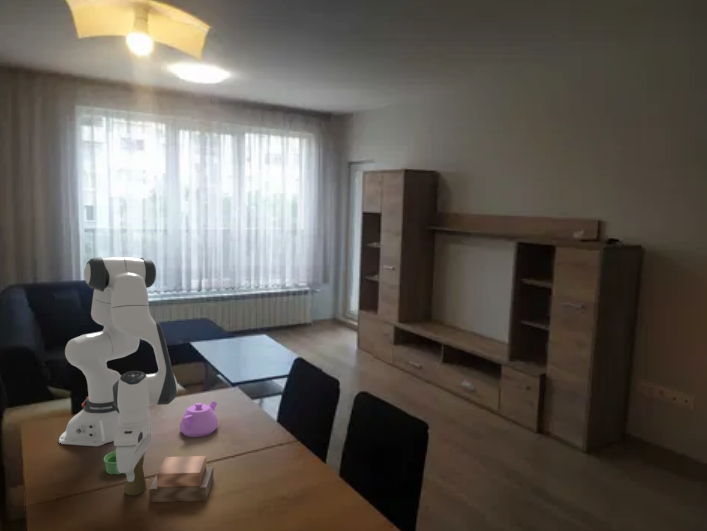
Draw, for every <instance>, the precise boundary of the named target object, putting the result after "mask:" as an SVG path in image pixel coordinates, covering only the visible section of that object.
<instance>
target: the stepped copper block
mask: <svg viewBox="0 0 707 531" xmlns="http://www.w3.org/2000/svg"><path fill="white" fill-rule="evenodd" d="M213 481H214V466H212V465H211V466H207V456H206V455H196V456H195V455H194V456H193V455H189V456H188V455H187V456H185V455H184V456H165V458H164V460H163V462H162V463H161V466H160V467H159V469H158V471H157V472H156V475H155V477H154V479H153V481H152V483H151V484H150V485H149V486H150V487H149V489H148V502H149V503H165V502H166V503H167V502H194V501H195V502H196V501H198V502H199V501H207V500H208V496H209V493H210V490H211V487H212V485H213V484H212V483H213Z"/></svg>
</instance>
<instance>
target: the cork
mask: <svg viewBox="0 0 707 531" xmlns="http://www.w3.org/2000/svg"><path fill="white" fill-rule="evenodd" d="M143 462H144V456H143V455H142V457H141V458H140V460H139V461H138V463H137V465H136V466H135V468H134V470H133V471H134V473H135V479H134V481H132V482H128V481H127V475H126V474H125V476H126V477H125V484H124V491H125V492H124V494H125V493H126V494H125V495H127V494H128V495H127V496H136V495H140V494H142V493H144V492H145V491H146V490H147V484H146V477H145V474H144V467H143V465H144V464H143ZM142 464H143V465H142Z"/></svg>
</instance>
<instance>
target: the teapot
mask: <svg viewBox="0 0 707 531" xmlns="http://www.w3.org/2000/svg"><path fill="white" fill-rule="evenodd" d="M217 404H218V403H217V402H216V401H212V400H211V402H210V404H206V403H202V402H195V403H194V404H192V405H190V406H188V407H187V409H186V410H185V412H184V413H183V415H182V417H181V420H180V421H179V422H180V423H179V430H180V432H181V433H182V434H183V435H184V436H186V437H190V438H202V437H206V436H209V435H210V434H213V433H214V431H216V429H217V428H218V425H219V423H218V418H217V415H216V413H215V410H216V407H217Z"/></svg>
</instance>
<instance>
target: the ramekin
mask: <svg viewBox="0 0 707 531" xmlns="http://www.w3.org/2000/svg"><path fill="white" fill-rule="evenodd" d="M103 462H104V467H105V471H106V474H108V473H109V475H112V474H117V475H122V474H121V473H119V471H118V469H117V461H116V450H114V451H111V452H109V453H107V454H105V455H104V457H103Z"/></svg>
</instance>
